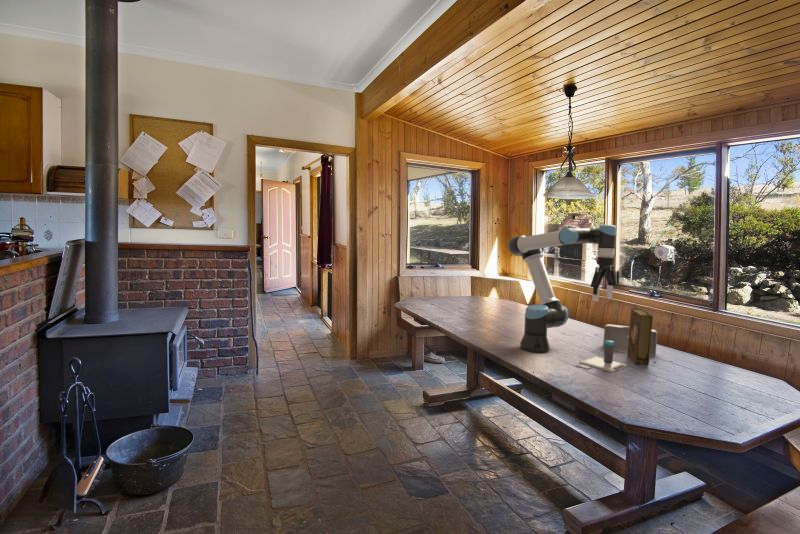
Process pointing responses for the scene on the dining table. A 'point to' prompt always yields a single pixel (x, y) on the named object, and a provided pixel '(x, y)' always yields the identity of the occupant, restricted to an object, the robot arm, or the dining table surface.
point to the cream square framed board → (602, 364)
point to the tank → (625, 338)
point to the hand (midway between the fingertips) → (602, 299)
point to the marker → (608, 353)
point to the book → (639, 336)
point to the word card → (583, 366)
